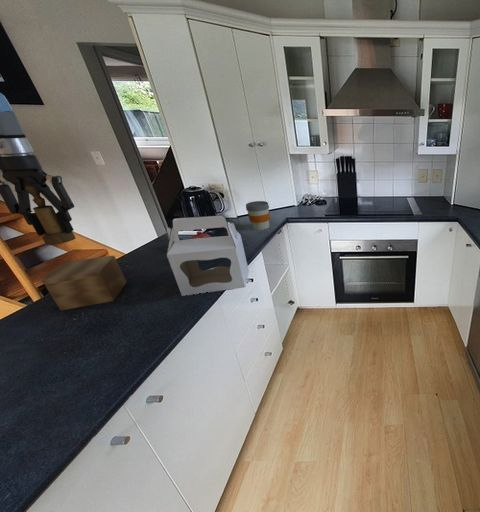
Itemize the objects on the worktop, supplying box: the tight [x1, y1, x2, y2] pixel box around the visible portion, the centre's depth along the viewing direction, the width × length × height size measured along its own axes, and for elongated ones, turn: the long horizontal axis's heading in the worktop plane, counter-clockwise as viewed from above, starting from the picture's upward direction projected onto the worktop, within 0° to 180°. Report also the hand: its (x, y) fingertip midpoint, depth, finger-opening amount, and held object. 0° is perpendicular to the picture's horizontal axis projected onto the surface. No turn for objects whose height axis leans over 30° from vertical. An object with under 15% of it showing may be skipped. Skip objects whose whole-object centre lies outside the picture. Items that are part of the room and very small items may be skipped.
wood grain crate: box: [41, 255, 127, 311], centre depth 98 cm, size 14×14×12 cm
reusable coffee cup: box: [245, 200, 271, 231], centre depth 164 cm, size 13×13×15 cm
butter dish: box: [190, 230, 211, 239], centre depth 138 cm, size 12×12×8 cm
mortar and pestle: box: [24, 186, 76, 246], centre depth 83 cm, size 7×6×18 cm
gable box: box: [166, 214, 250, 297], centre depth 104 cm, size 22×13×28 cm, turn 108°
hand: (56, 232), depth 85 cm, fingers closed on mortar and pestle, 5 cm apart
